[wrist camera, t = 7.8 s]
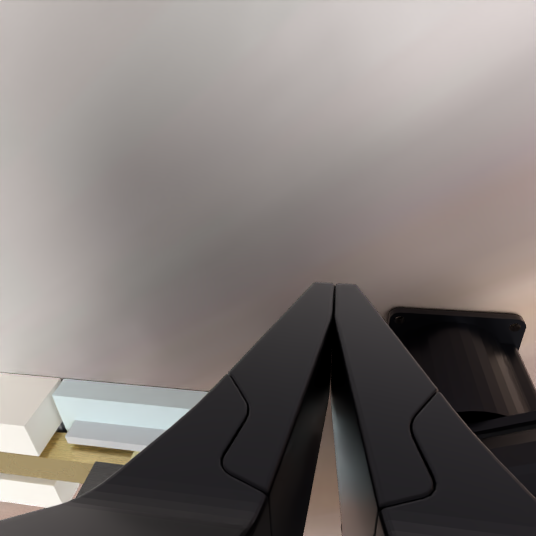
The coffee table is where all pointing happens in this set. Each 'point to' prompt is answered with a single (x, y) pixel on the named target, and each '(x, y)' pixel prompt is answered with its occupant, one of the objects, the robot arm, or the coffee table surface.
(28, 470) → the bolt
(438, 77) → the coffee table surface
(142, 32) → the coffee table surface
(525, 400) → the robot arm
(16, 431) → the door and jamb
